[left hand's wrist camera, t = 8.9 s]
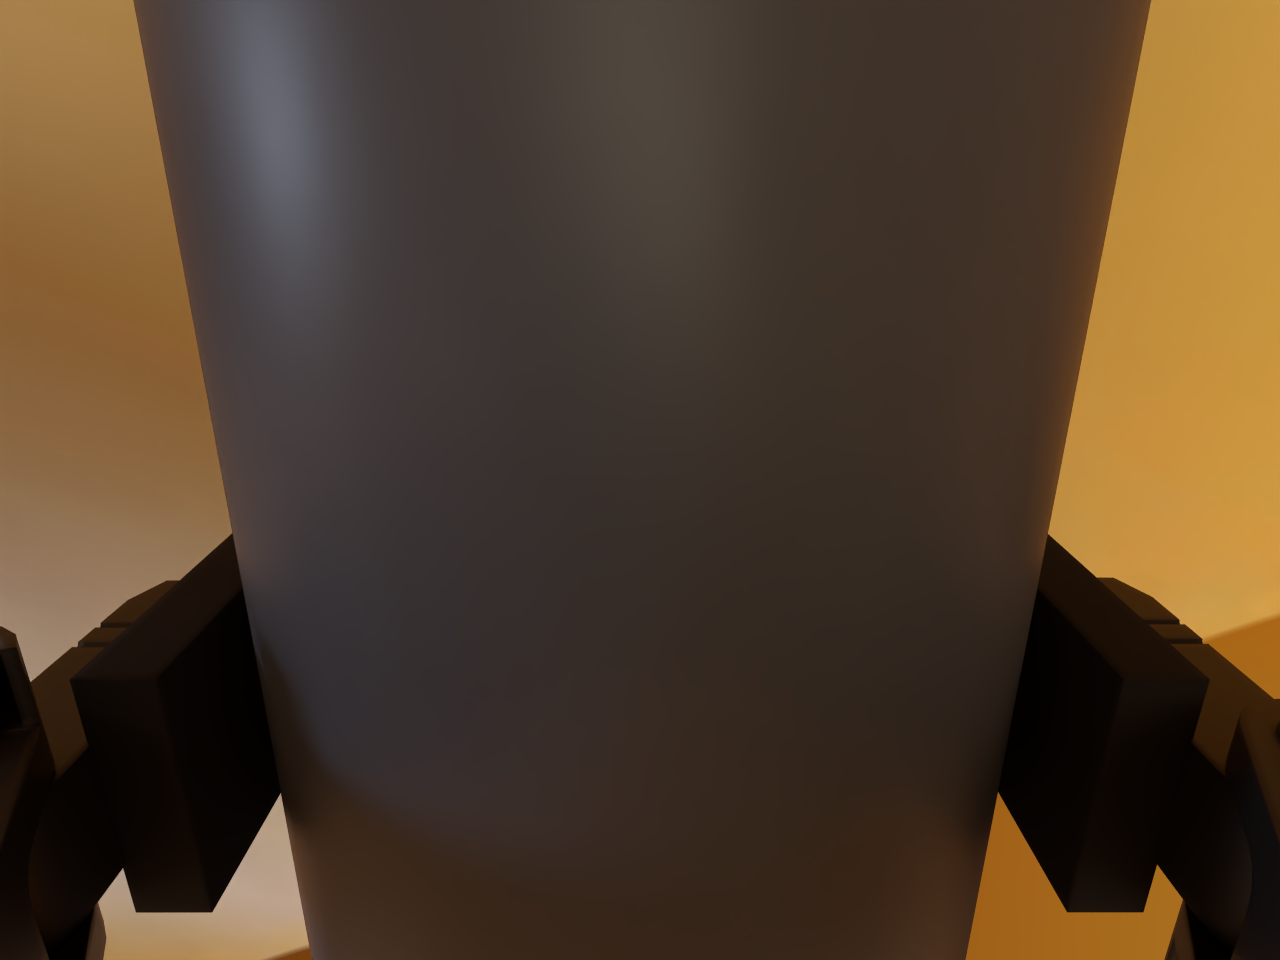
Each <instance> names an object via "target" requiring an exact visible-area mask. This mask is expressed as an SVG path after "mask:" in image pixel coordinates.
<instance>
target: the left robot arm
mask: <svg viewBox="0 0 1280 960" xmlns="http://www.w3.org/2000/svg"><path fill="white" fill-rule="evenodd" d="M998 792H999V794H1000V796H1001V798H1002V799H1003V801H1004V803H1005V805H1006V806H1007V808H1008V810H1009V812H1010V813H1011V815H1012V817H1013V818H1014V820H1015V822H1016V824H1017V825H1018V827H1019V829H1020V831H1021V832H1022V834H1023V836H1024V838H1025V839H1026V841H1027V843H1028V845H1029V846H1030V848H1031V850H1032V852H1033V853H1034V855H1035V857H1036V859H1037V860H1038V862H1039V864H1040V866H1041V867H1042V869H1043V871H1044V872H1045V874H1046V876H1047V878H1048V880H1049V881H1050V883H1051V885H1052V886H1053V888H1054V890H1055V892H1056V893H1057V895H1058V897H1059V899H1060V900H1061V902H1062V904H1063V906H1064V907H1065V909H1066V911H1067V912H1144V908H1145V905H1146V901H1147V898H1148V894H1149V891H1150V887H1151V884H1152V880H1153V877H1154V873H1155V870H1156V866H1157V865H1158V866H1159V867H1160V869H1161V870H1162V871H1163V873H1164V874H1165V875H1166V877H1167V878H1168V879H1169V881H1170V882H1171V884H1172V885H1173V886H1174V888H1175V889H1176V890H1177V891H1178V893H1179V894H1180V896H1181V897H1182V898H1183V901H1182V905H1181V908H1180V911H1179V914H1178V918H1177V921H1176V924H1175V927H1174V931H1173V934H1172V937H1171V940H1170V944H1169V947H1168V950H1167V953H1166V957H1165V960H1280V699H1273V698H1272V697H1271V696H1270V695H1268V694H1267V693H1266V692H1265V691H1264V690H1262V689H1261V688H1260V687H1259V686H1258V685H1257V684H1255V683H1254V682H1253V681H1252V680H1251V679H1249V678H1248V677H1247V676H1246V675H1245V674H1243V673H1242V672H1241V671H1240V670H1239V669H1237V668H1236V667H1235V666H1234V665H1233V664H1231V663H1230V662H1229V661H1228V660H1227V659H1226V658H1224V657H1223V656H1222V655H1221V654H1219V653H1218V652H1217V651H1216V650H1215V649H1214V648H1212V647H1211V646H1210V645H1209V644H1203V643H1202V638H1200V637H1199V636H1198V635H1197V634H1196V633H1195V632H1193V631H1192V630H1191V629H1190V628H1189V627H1187V626H1186V625H1185V624H1180V623H1179V619H1178V618H1177V617H1175V616H1174V615H1173V614H1172V613H1171V612H1169V611H1168V610H1167V609H1166V608H1165V607H1164V606H1162V605H1161V604H1160V603H1159V602H1158V601H1156V600H1155V599H1154V598H1153V597H1151V596H1149V595H1147V594H1145V593H1143V592H1141V591H1139V590H1137V589H1135V588H1133V587H1131V586H1129V585H1127V584H1125V583H1123V582H1121V581H1119V580H1117V579H1115V578H1096V577H1095V576H1094V575H1093V574H1092V573H1091V572H1090V571H1089V570H1088V569H1086V568H1085V567H1084V566H1083V565H1082V564H1081V563H1080V562H1079V561H1077V560H1076V559H1075V558H1074V557H1073V556H1072V555H1071V554H1070V553H1069V552H1067V551H1066V550H1065V549H1064V548H1063V547H1062V546H1061V545H1060V544H1059V543H1057V542H1056V541H1055V540H1054V539H1053V538H1052V537H1051V536H1050V535H1049V534H1048V535H1047V540H1046V546H1045V551H1044V556H1043V561H1042V566H1041V571H1040V577H1039V582H1038V587H1037V592H1036V597H1035V602H1034V608H1033V613H1032V618H1031V623H1030V628H1029V633H1028V639H1027V644H1026V649H1025V654H1024V659H1023V664H1022V670H1021V675H1020V680H1019V685H1018V690H1017V695H1016V701H1015V706H1014V711H1013V716H1012V721H1011V726H1010V732H1009V737H1008V742H1007V747H1006V752H1005V757H1004V763H1003V768H1002V773H1001V778H1000V783H999V788H998ZM280 793H281V790H280V785H279V780H278V774H277V769H276V763H275V758H274V753H273V747H272V742H271V737H270V731H269V726H268V720H267V715H266V710H265V704H264V699H263V694H262V688H261V683H260V677H259V672H258V667H257V661H256V656H255V651H254V645H253V640H252V634H251V629H250V624H249V618H248V613H247V608H246V602H245V597H244V591H243V586H242V581H241V575H240V570H239V565H238V559H237V554H236V548H235V543H234V538H233V533H232V534H231V535H230V536H229V537H228V538H227V539H225V540H224V541H223V542H222V543H221V544H220V545H219V546H218V547H216V548H215V549H214V550H213V551H212V552H211V553H210V554H209V555H208V556H206V557H205V558H204V559H203V560H202V561H201V562H200V563H199V564H198V565H196V566H195V567H194V568H193V569H192V570H191V571H190V572H189V573H188V574H186V575H185V576H184V577H183V578H182V579H181V580H180V581H165V582H163V583H161V584H159V585H157V586H155V587H153V588H151V589H149V590H147V591H145V592H143V593H141V594H139V595H137V596H135V597H133V598H131V599H129V600H127V601H126V602H125V603H124V604H123V605H122V606H120V607H119V608H118V609H117V610H116V611H114V612H113V613H112V614H111V615H110V616H109V617H107V618H106V619H105V620H104V621H103V622H101V627H100V628H94V629H93V630H92V631H91V632H90V633H88V634H87V635H86V636H85V637H84V638H82V639H81V640H80V641H79V642H78V647H72V648H71V649H69V650H68V651H67V652H66V653H65V654H64V655H62V656H61V657H60V658H59V659H58V660H56V661H55V662H54V663H53V664H52V665H51V666H49V667H48V668H47V669H46V670H45V671H43V672H42V673H41V674H40V675H39V676H38V677H36V678H35V679H34V680H33V681H32V682H30V680H29V677H28V673H27V670H26V667H25V664H24V660H23V657H22V654H21V651H20V647H19V644H18V641H17V638H16V634H14V633H12V632H11V631H9V630H7V629H5V628H3V627H1V626H0V960H103V957H104V950H105V944H106V933H105V927H104V921H103V918H102V914H101V911H100V908H99V905H98V901H99V900H100V898H101V897H102V896H103V894H104V893H105V891H106V890H107V889H108V887H109V886H110V885H111V883H112V882H113V881H114V879H115V878H116V877H117V875H118V874H119V873H120V871H121V870H122V868H123V869H124V872H125V876H126V879H127V883H128V886H129V890H130V893H131V896H132V900H133V903H134V907H135V910H136V912H213V910H214V908H215V907H216V905H217V903H218V901H219V900H220V898H221V896H222V894H223V893H224V891H225V889H226V887H227V886H228V884H229V882H230V880H231V879H232V877H233V875H234V873H235V872H236V870H237V868H238V866H239V865H240V863H241V861H242V859H243V858H244V856H245V854H246V853H247V851H248V849H249V847H250V846H251V844H252V842H253V840H254V839H255V837H256V835H257V833H258V832H259V830H260V828H261V826H262V825H263V823H264V821H265V819H266V818H267V816H268V814H269V812H270V811H271V809H272V807H273V805H274V804H275V802H276V800H277V798H278V797H279V795H280Z"/></svg>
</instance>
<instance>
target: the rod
mask: <svg viewBox="0 0 1280 960" xmlns="http://www.w3.org/2000/svg"><path fill="white" fill-rule="evenodd" d="M1150 3H1151V0H134V5H135V11H136V16H137V22H138V27H139V32H140V38H141V43H142V48H143V54H144V59H145V65H146V70H147V75H148V81H149V86H150V91H151V97H152V102H153V108H154V113H155V118H156V124H157V129H158V134H159V140H160V145H161V151H162V156H163V161H164V167H165V172H166V178H167V183H168V188H169V194H170V199H171V204H172V210H173V215H174V221H175V226H176V231H177V237H178V242H179V247H180V253H181V258H182V264H183V269H184V274H185V280H186V285H187V290H188V296H189V301H190V307H191V312H192V317H193V323H194V328H195V333H196V339H197V344H198V350H199V355H200V360H201V366H202V371H203V376H204V382H205V387H206V393H207V398H208V403H209V409H210V414H211V419H212V425H213V430H214V436H215V441H216V446H217V452H218V457H219V462H220V468H221V473H222V479H223V484H224V489H225V495H226V500H227V505H228V511H229V516H230V522H231V527H232V532H233V538H234V543H235V548H236V554H237V559H238V565H239V570H240V575H241V581H242V586H243V591H244V597H245V602H246V608H247V613H248V618H249V624H250V629H251V634H252V640H253V645H254V651H255V656H256V661H257V667H258V672H259V677H260V683H261V688H262V694H263V699H264V704H265V710H266V715H267V720H268V726H269V731H270V737H271V742H272V747H273V753H274V758H275V763H276V769H277V774H278V780H279V785H280V790H281V796H282V801H283V806H284V812H285V817H286V823H287V828H288V833H289V839H290V844H291V850H292V855H293V860H294V866H295V871H296V876H297V882H298V887H299V893H300V898H301V903H302V909H303V914H304V919H305V925H306V930H307V936H308V941H309V946H310V952H311V957H312V960H965V959H966V954H967V948H968V943H969V938H970V933H971V928H972V923H973V918H974V912H975V907H976V902H977V897H978V892H979V887H980V881H981V876H982V871H983V866H984V861H985V855H986V850H987V845H988V840H989V835H990V830H991V824H992V819H993V814H994V809H995V804H996V799H997V794H998V788H999V783H1000V778H1001V773H1002V768H1003V763H1004V757H1005V752H1006V747H1007V742H1008V737H1009V732H1010V726H1011V721H1012V716H1013V711H1014V706H1015V701H1016V695H1017V690H1018V685H1019V680H1020V675H1021V670H1022V664H1023V659H1024V654H1025V649H1026V644H1027V639H1028V633H1029V628H1030V623H1031V618H1032V613H1033V608H1034V602H1035V597H1036V592H1037V587H1038V582H1039V577H1040V571H1041V566H1042V561H1043V556H1044V551H1045V546H1046V540H1047V535H1048V530H1049V525H1050V520H1051V515H1052V509H1053V504H1054V499H1055V494H1056V489H1057V484H1058V478H1059V473H1060V468H1061V463H1062V458H1063V452H1064V447H1065V442H1066V437H1067V432H1068V427H1069V421H1070V416H1071V411H1072V406H1073V401H1074V396H1075V390H1076V385H1077V380H1078V375H1079V370H1080V365H1081V359H1082V354H1083V349H1084V344H1085V339H1086V334H1087V328H1088V323H1089V318H1090V313H1091V308H1092V303H1093V297H1094V292H1095V287H1096V282H1097V277H1098V272H1099V266H1100V261H1101V256H1102V251H1103V246H1104V241H1105V235H1106V230H1107V225H1108V220H1109V215H1110V210H1111V204H1112V199H1113V194H1114V189H1115V184H1116V179H1117V173H1118V168H1119V163H1120V158H1121V153H1122V148H1123V142H1124V137H1125V132H1126V127H1127V122H1128V117H1129V111H1130V106H1131V101H1132V96H1133V91H1134V86H1135V80H1136V75H1137V70H1138V65H1139V60H1140V55H1141V49H1142V44H1143V39H1144V34H1145V29H1146V24H1147V18H1148V13H1149V8H1150Z"/></svg>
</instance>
